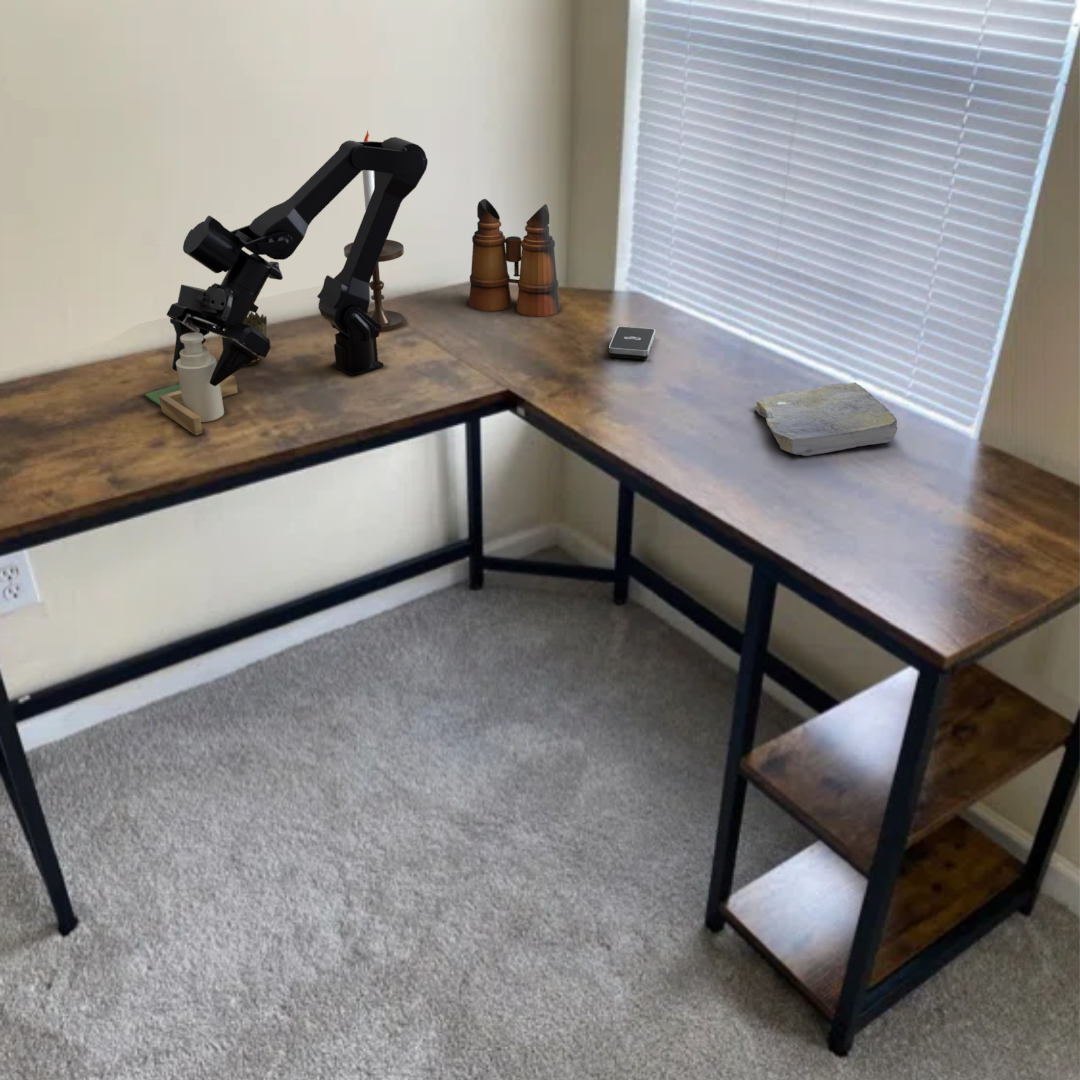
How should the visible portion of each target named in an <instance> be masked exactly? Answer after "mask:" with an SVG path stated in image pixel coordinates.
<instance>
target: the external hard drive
mask: <svg viewBox="0 0 1080 1080" xmlns="http://www.w3.org/2000/svg"><path fill="white" fill-rule="evenodd" d="M655 338H656V329H654V328H648V327H635V326H621V325H620V326H617V327H616V329H615V332H614V333H613V336H612V339H611V340H610V343H609V346H608V355H609V357H610V358H621V359H632V360H643V361H644V360H645V361H646V360H647V359H648V358H649V354H650V353H651V349H652V347H653V343H654V341H655Z"/></svg>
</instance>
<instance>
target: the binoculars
mask: <svg viewBox="0 0 1080 1080" xmlns="http://www.w3.org/2000/svg"><path fill="white" fill-rule="evenodd" d="M476 216H477V218H478V221H477V223H476V224H477V230H475V231H474V233H473V235H472V236H471V241H472V252H471V253H472V254H471V255H472V256H471V270H470V274H469V283H470V289H469V298H468V304H469V306H470V307H471V308H472V309H475V310H478V311H486V312H493V311H501V310H506V309H508V308H510V307H511V306H512V296H511V289H510V284H516V285H517V287H518V292H517V302H516V311H517V312H518V313H519V314H521V315H524V316H528V317H548V316H553V315H555V314H557V313H559V311H560V310H561V309H560V300H559V299H560V298H559V291H558V289H559V280H558V277H557V266H556V255H555V247H556V242H555V240H554V239H553V236H551V235H550V226H549V225H550V211H549V207H548V204H546V203H545V204H543V205H542V206H541V207H540V208H539V209H538V210H537V211H536V212H535V213H534V214H533V215H532V216H530V218H529V219H528V220H527V221H526V225H525V226H524V230H525V232H526V235H524V236H523V239H522V238H521V237H520V236H515V235H513V236H512V235H511V236H507V237H506V236H505V235H504V231H502V230H500V228H501V227H502V221H500V219H501V218H500V215H499V213H498V211H497V209H496V208H495V207H494V205H493V204H492V203H491V201H489V200H488V199H486V198H483V199H481V200H480V201H478V203H477V207H476ZM508 262H509V263H514V265H513V268H514V270H513V271H514V274H513V277H516V278H517V277H518V278H519V279H515V278H511V277H510V274H509V269H508ZM519 264H520V265H519ZM519 266H520V267H519Z"/></svg>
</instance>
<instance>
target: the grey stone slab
mask: <svg viewBox="0 0 1080 1080" xmlns="http://www.w3.org/2000/svg"><path fill="white" fill-rule="evenodd" d="M755 402H756V406H754V410H755V411H756V412H757V414H758V415H759V416H761V417H763V418H764V419H765V420H766V424H767V426H768V427H769V429H770V431H771V433H772V435H773V437H774V438H775V440H776V442H777V444H778V445H779V448H780V450H783V451H785V452H788V453H789V454H794V455H796V456H798V455H799V456H803V457H810V456H815V455H821V454H826V453H832V452H837V451H843V450H847V449H853V448H854V449H855V448H856V447H864V446H869V445H871V446H872V445H877V444H885V443H887V444H888V443H890V442H893V440H894V438H895V436H896V434H897V431H898V420H897V418H896V417H895V415H894V414H893V413H892V412H891V410H889V408H887V407H886V406H885V405H884V404H883V403H881V401H879V400H878V399H877V398H876V397H875V396H874V395H872V393H871V392H869V391H868V390H867V389H866V388H864V387H863V386H861V385H860V384H858V383H856V382H849V383H834V384H833V383H832V384H827V385H823V386H820V387H814V388H810V389H804V390H796V391H789V392H785V393H780V394H776V395H771V396H768V397H764V398H762V399H758V400H756V401H755Z"/></svg>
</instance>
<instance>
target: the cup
mask: <svg viewBox="0 0 1080 1080" xmlns="http://www.w3.org/2000/svg"><path fill="white" fill-rule="evenodd" d="M244 324H246V325H249V326H251V327H253V328H254V329H256V330H257V331H258V332H260V333H261V334H262V335H264V336H265V337H267V338H268V318H267V315H264V314H263V313H261V315H259V314H258V312H256V313H254V312H251V311H250V312H249V314H248V316H247V318H246V320H245V322H244ZM223 330H224V331H225V329H223ZM228 339H229V338H228ZM230 340H232V339H230ZM256 356H257V357H258V358H259V359H258V360H257V361H256V360H253V361H252V362H250V363H248V364H247V365H246V366H255V365H258V364H259V363H260V362H261V359H262V357H261V356H258V355H256Z"/></svg>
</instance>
